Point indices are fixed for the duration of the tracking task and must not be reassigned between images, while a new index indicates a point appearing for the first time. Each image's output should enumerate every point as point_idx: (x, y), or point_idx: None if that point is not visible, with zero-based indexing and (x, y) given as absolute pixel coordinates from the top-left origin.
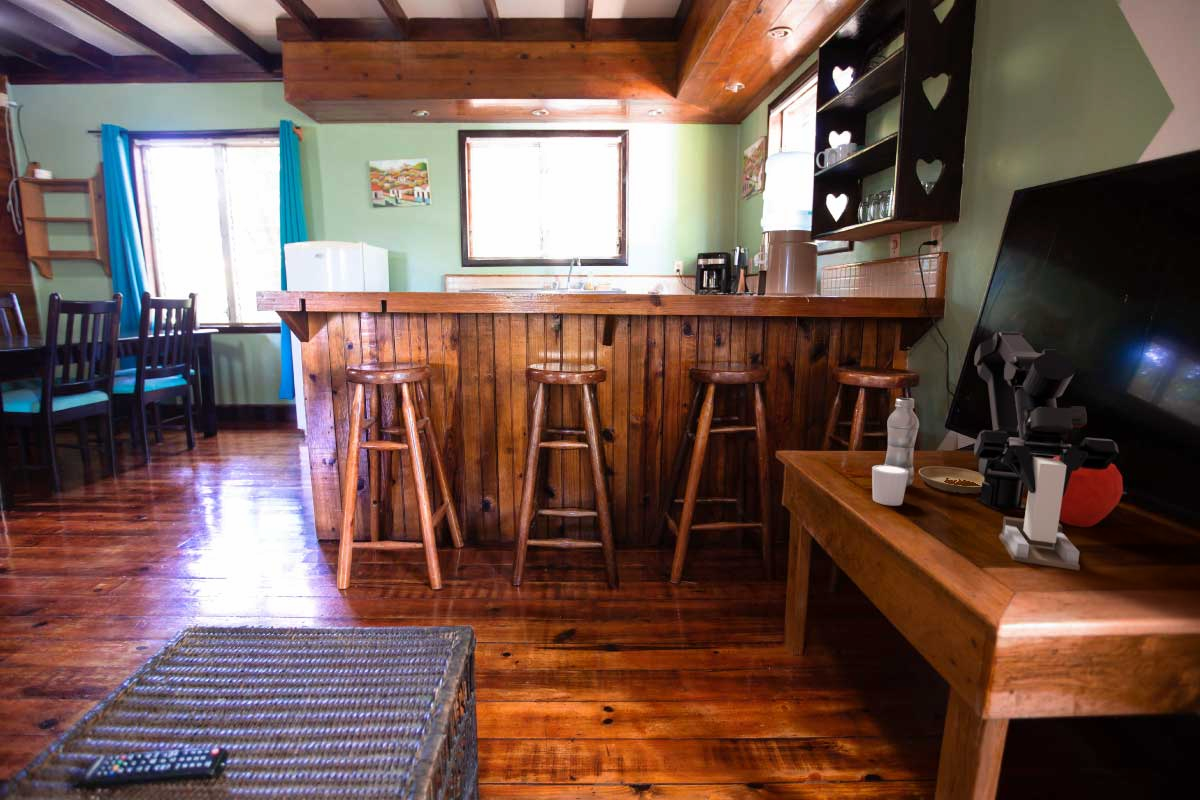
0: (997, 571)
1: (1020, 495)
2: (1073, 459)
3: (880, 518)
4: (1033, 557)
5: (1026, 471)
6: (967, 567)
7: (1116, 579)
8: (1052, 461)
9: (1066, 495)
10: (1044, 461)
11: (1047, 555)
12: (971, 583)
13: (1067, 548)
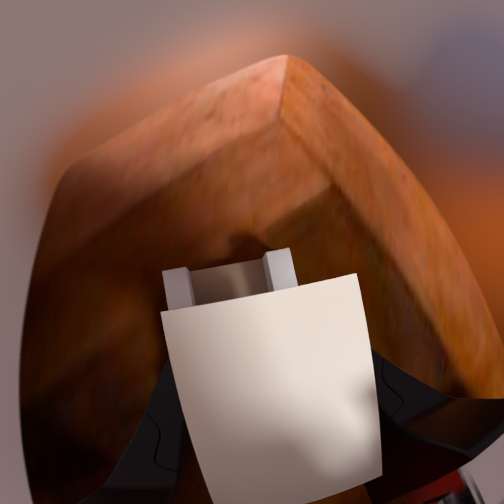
0: (307, 181)
1: None
2: (114, 499)
3: (481, 332)
4: (250, 268)
5: (375, 356)
6: (350, 174)
7: (112, 268)
8: (263, 420)
9: None
10: (325, 376)
11: (221, 300)
12: (333, 118)
13: (184, 280)
